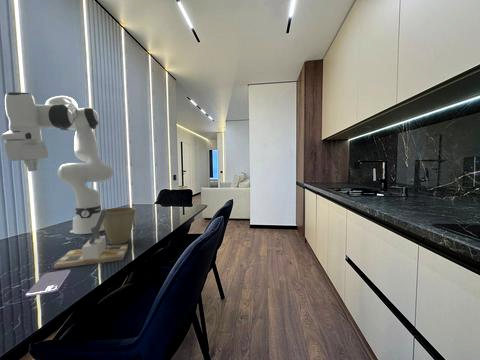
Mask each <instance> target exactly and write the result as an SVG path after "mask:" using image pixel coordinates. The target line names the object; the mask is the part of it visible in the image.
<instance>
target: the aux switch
mask: <svg viewBox="0 0 480 360" xmlns="http://www.w3.org/2000/svg"><path fill="white" fill-rule="evenodd" d="M95 227H96V226H94V227H92V228H91V231H92V233H91V234H93V232H94V229H95ZM99 236H101V233H100V232H98V234H97V237H96V239H97V238H98V237H99Z"/></svg>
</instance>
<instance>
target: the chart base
mask: <svg viewBox="0 0 480 360" xmlns="http://www.w3.org/2000/svg"><path fill="white" fill-rule="evenodd" d="M128 248H129V244H128V243H124V244H118V245H108V246H107V245H106V248H105V249H104V251H103V252H102V254H101V255H100V256H99V258H97V259H88V260H83V256H82V248H81V249H79V248H78V249H71V250H69V251H68V252H67V253H66V254H64V255H63V256H62V257H61V258H59V259H58V260H57V261H56V263H54V265H53V267H54V269H55V270H56V269H60V268H61V269H63V268H70V267H77V266H87V265H93V264H95V265H96V264H103V263H109V262H117V261H118V262H119V261H123V260H124V257H125V256H126V253H127V251H128Z"/></svg>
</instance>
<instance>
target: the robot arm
mask: <svg viewBox="0 0 480 360" xmlns="http://www.w3.org/2000/svg"><path fill="white" fill-rule="evenodd" d="M4 106H5V108H4V109H5V114H6V117H7V118H8V121H9V124H8V129H9V130H8V131H6V132H3V133H2V134H1V137H2V140H3V141H4V148H5V153H6V157H7V158H8V159H9V161H10V162H20V161H22V162H24V165H25V166H26V167H27V171H28V172H35V171H36V172H37V171H38V163H39V160H40V159H48V158H49V152H48V148H47V144H46V141H44V140H43V138H42V129H60V130H62V131H70V130H75V134H74V140H73V141H74V142H73V145H74V146H73V149H74V156H75V157H76V158H77V159H78V160H80V161H83V162H69V163H63V164H61V165H60V166H59V167H58V169H57V177H58V179H59V180H60V181H61V182H63V183H65V184H66V185H68V186H69V187H70V188H71V189H72V192H73V194H74V197H75V204H76V207H75V216H73V217H72V229H70V230H69V233H70V234H75V235H88V234H93V233H92V231H91V228H92V227H94V226H96V225H97V222H98V220H99V217H100V215H101V213H100V211H101V210H102V208H101V207H102V206H101V205H100V193H99V192H98V191H97V190H96V189H94V188H91V187H89V186H87V185H86V184H87V183H102V182H107V181H109V180H111V179H112V177H113V175H114V171H113V168H112V167H111V165H109V164H108V163H107V162H105V161H104V160H102V159H101V158H100V156H99V154H98V146H97V139H96V135H95V132H94V131H93V130H95V129H96V128H97V126H98V125H99V122H100V119H99V118H100V117H99V114H98V112H97V111H96V110H95V109H94V108H93V107H82V108H79V106H78V103H77V101H76V100H75V99H74V98H72V97H69V96H67V95H57V96H53V97H51V98H49V99H47V100H46V101H45V104H37V103H36V102H35V97H34V96H33V94H31V93H30V92H14V91H13V92H11V91H9V92H7V93H5V95H4ZM102 231H105V229H104V226H103V223H102V224H101V227H100V229H99V233H100V232H102Z"/></svg>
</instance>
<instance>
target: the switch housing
mask: <svg viewBox="0 0 480 360" xmlns="http://www.w3.org/2000/svg"><path fill="white" fill-rule="evenodd" d="M89 241H90V239H89V240H87V242H85V244H84V245H83V246H82V247H81V249H82V256H83V260H88V259H97V258H99V256H100V255H101V254H102V252H103V251H104V249H105V248H106V246H107V235H100V236H99V237H98V238H97V239H96V240H95V241H94V242H93V244H89Z"/></svg>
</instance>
